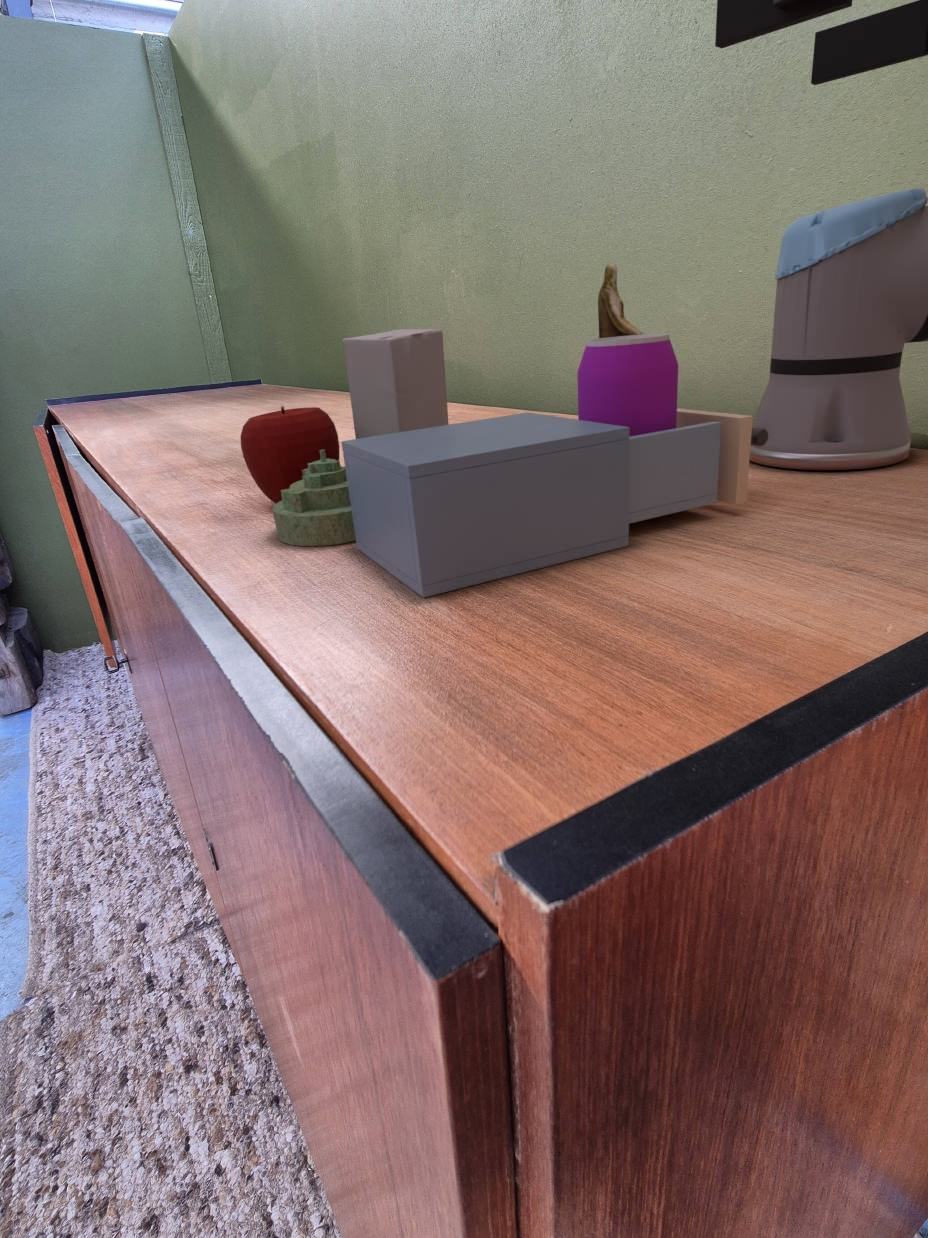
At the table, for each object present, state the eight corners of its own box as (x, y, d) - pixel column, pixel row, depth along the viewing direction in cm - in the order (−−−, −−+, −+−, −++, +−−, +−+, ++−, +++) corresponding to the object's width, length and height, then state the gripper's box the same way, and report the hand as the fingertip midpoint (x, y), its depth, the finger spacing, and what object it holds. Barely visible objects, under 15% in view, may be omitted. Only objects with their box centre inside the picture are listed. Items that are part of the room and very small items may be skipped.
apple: (249, 503, 76) (229, 407, 73) (337, 489, 79) (322, 396, 76) (259, 522, 68) (238, 415, 64) (356, 505, 71) (341, 402, 67)
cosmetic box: (409, 480, 81) (392, 329, 74) (460, 484, 77) (447, 325, 70) (358, 498, 74) (334, 335, 68) (410, 503, 70) (390, 331, 64)
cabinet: (532, 510, 64) (528, 412, 61) (629, 546, 52) (629, 426, 49) (357, 548, 58) (341, 441, 54) (423, 598, 46) (408, 465, 43)
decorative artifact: (351, 549, 58) (410, 515, 66) (338, 462, 55) (401, 438, 63) (254, 543, 62) (320, 512, 70) (237, 462, 59) (308, 440, 67)
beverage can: (669, 479, 62) (674, 331, 57) (679, 501, 55) (685, 334, 50) (580, 483, 63) (577, 339, 59) (579, 505, 57) (575, 343, 52)
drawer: (685, 470, 70) (688, 398, 67) (790, 491, 59) (798, 407, 56) (503, 509, 62) (498, 429, 59) (587, 541, 51) (585, 446, 49)
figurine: (651, 476, 72) (655, 256, 64) (575, 477, 75) (570, 266, 67) (655, 466, 76) (659, 259, 69) (582, 467, 79) (579, 267, 71)
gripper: (1301, -110, 21) (663, 85, 35) (1268, 42, 37) (838, 135, 51) (1410, -491, 19) (667, -114, 32) (1324, -149, 35) (852, 5, 49)
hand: (771, 39), depth 42 cm, fingers open, 13 cm apart
